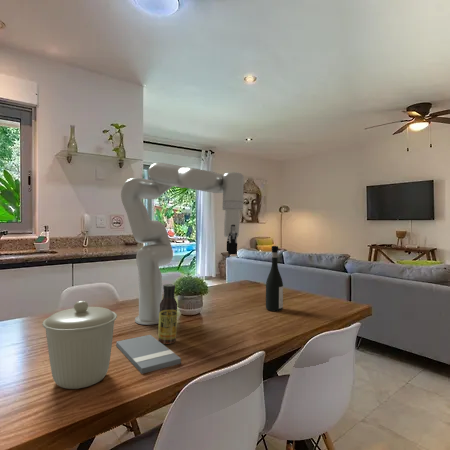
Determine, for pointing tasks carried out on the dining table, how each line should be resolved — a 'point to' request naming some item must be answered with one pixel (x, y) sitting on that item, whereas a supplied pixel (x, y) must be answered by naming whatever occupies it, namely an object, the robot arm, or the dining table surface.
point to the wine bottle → (274, 285)
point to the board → (147, 353)
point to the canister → (79, 344)
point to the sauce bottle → (168, 316)
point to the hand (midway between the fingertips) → (231, 252)
